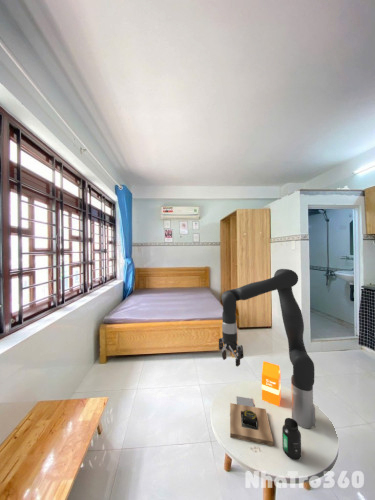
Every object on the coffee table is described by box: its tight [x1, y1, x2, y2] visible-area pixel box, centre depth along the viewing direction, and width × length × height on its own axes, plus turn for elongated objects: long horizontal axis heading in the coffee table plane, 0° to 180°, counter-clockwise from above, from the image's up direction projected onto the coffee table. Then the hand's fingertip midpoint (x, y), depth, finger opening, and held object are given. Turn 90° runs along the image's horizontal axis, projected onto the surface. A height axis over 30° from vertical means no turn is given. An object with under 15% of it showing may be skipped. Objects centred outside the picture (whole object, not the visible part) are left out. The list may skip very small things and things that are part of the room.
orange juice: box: [261, 360, 282, 407], centre depth 109 cm, size 8×9×20 cm
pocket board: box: [229, 402, 274, 447], centre depth 92 cm, size 18×18×2 cm
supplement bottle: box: [281, 417, 302, 461], centre depth 79 cm, size 7×7×12 cm
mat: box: [235, 395, 255, 407], centre depth 105 cm, size 9×8×1 cm
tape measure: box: [241, 410, 258, 429], centre depth 93 cm, size 7×7×4 cm
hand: (230, 362), depth 98 cm, fingers open, 8 cm apart
